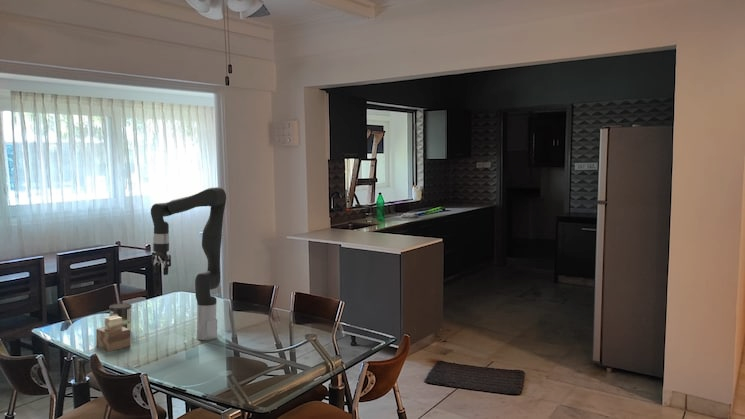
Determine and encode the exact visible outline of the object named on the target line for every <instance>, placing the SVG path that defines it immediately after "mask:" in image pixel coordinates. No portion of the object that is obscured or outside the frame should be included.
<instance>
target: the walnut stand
mask: <svg viewBox="0 0 745 419" xmlns="http://www.w3.org/2000/svg"><path fill="white" fill-rule="evenodd" d="M95 330H96V334H95V335H96V346H97V347H98V348H100V349H103V350H105V351H108V352H111V351H116V350H121V349H124V348H129V347H131V333H130V329H128V328H125V327H123V326H122V329H120V330H116V331H111V332H110V331H108V330H105V326H104V327H98V328H96V329H95Z"/></svg>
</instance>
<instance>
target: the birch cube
mask: <svg viewBox="0 0 745 419" xmlns="http://www.w3.org/2000/svg"><path fill="white" fill-rule="evenodd" d="M104 327H105V330H108V331H110V332H111V331H116V330H120V329H122V317H119V316H117V315H116V316H110V317H109V316H106V317H104Z"/></svg>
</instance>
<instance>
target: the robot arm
mask: <svg viewBox="0 0 745 419" xmlns="http://www.w3.org/2000/svg"><path fill="white" fill-rule="evenodd" d="M226 200H227V193H226V191H225V189H223V188H222V187H219V186H217V187H208V188H206V189H204V190H201V191H199V192H197V193H195V194H191V195H188V196H184V197H179V198H176V199H175V198H174V199H172V200H170V201H167V202H156V203H153V205H152V206H151V208H150V216H151V220H152V223H153V224H152V225H153V237H152V238H153V239H152V241H153V244H152V246H153V247H152V248H153V249H152V250H153V252H151V264H153V268H154V270H153V272H154V273H155V274H157V273H159V272H160V264H161V265H162V267H163V268H162V270H163V272H162V274H163V275H164V276H168V275H169V268H170V267H172V256H171V254H168V253H167V252H169V251H170V234H169V229H170V228H169V227H170V226H169V225H170V224H169V222H168V221H166V220H164V217H170V216H172V215H175V214H179V213H183V212H188V211H190V210H193V209H194V208H199V207H200V208H201V207H210V211H209V216H208V219H207V221H206V224H205V225H204V228H203V230H202V237H201V238H202V239H201V248H202V250H203V253H204V254H205V257H206V259H207V270H206V271H203V272H199V273H197V275H196V277H195V280H194V289H195V290H194V291H195V299H196V339H197V340H200V341H210V340H214V339H218V319H217V302H218V301H217V297H215V296H214V295H213V296H212V295H211V290H215V289H217V288H218V287H219V286H220V284H221V248H222V236H223V235H222V234H223V226H224V225H223V222H224V214H225V208H226V202H227V201H226Z"/></svg>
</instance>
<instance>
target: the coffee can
mask: <svg viewBox="0 0 745 419" xmlns="http://www.w3.org/2000/svg"><path fill="white" fill-rule="evenodd" d="M132 306H133V305H132V304H131V303H125V302H124V303H123V302H122V303H113V304H110V305H109V306H108V307H109V309H108V310H109V316H108V317H110V316H116V315H117V316H119V317H122V326H123V327H125V328H128V329H130V334H132Z"/></svg>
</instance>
